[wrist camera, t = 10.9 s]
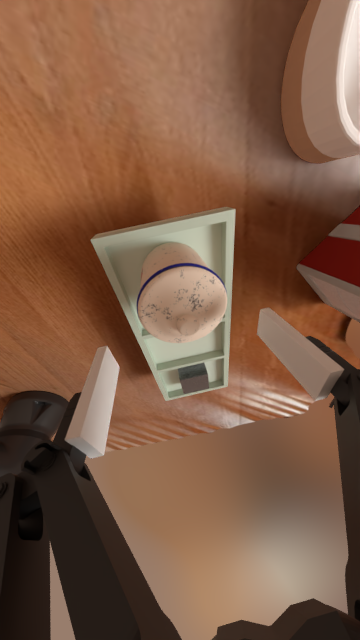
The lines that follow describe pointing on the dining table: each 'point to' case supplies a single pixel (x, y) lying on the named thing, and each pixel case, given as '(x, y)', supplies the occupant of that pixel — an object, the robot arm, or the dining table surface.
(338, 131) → the bowl
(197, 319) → the teacup with lid
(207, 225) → the divided tray
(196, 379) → the block
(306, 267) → the red striped block
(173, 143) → the dining table surface
